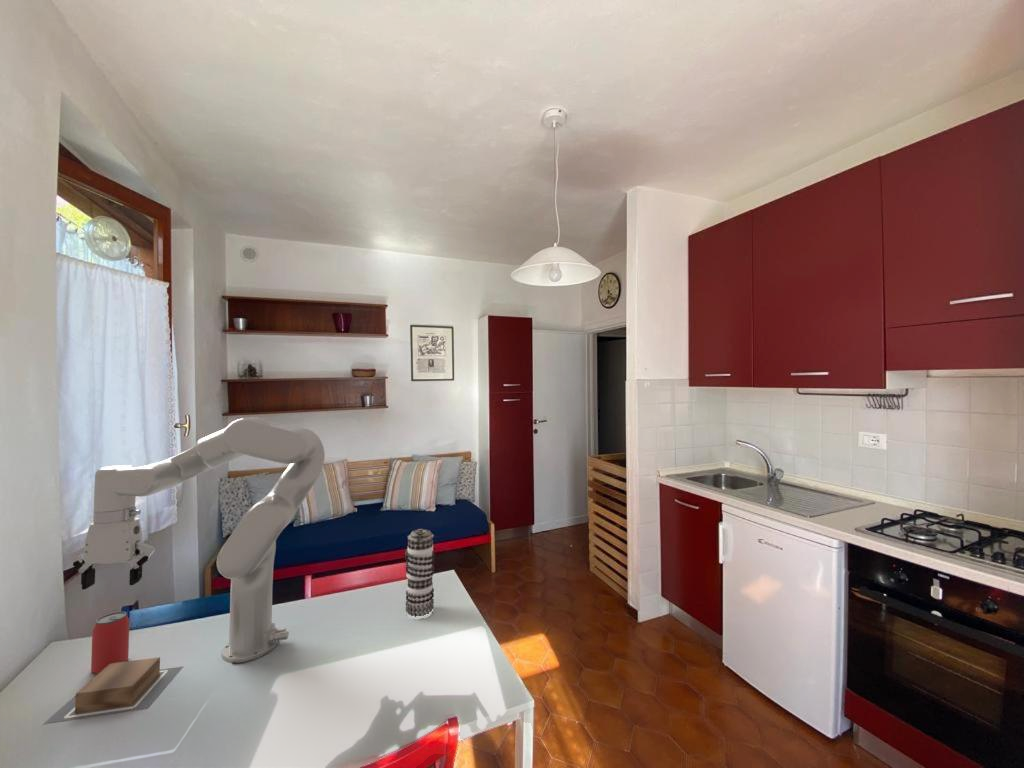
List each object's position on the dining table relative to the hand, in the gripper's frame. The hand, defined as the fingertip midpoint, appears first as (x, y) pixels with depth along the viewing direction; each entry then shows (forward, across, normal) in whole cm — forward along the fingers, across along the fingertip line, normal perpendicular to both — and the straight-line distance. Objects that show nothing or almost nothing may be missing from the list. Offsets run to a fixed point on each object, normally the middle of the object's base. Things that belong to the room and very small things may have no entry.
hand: (111, 584), depth 102 cm
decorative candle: (+20, -75, -8) cm, 78 cm away
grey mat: (+20, -9, +12) cm, 25 cm away
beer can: (+20, 0, 0) cm, 20 cm away
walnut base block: (+19, -9, +12) cm, 25 cm away
